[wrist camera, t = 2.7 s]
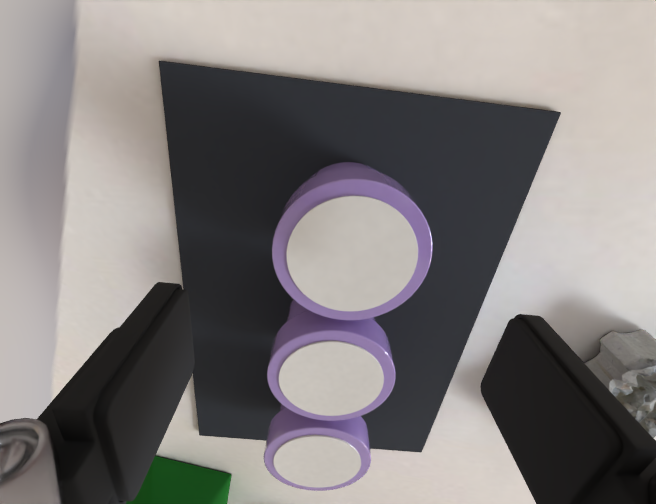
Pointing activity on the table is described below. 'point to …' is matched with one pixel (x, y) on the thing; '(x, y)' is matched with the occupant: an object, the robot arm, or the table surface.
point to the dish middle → (330, 365)
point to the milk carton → (182, 484)
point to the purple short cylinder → (351, 243)
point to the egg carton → (630, 373)
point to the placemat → (294, 170)
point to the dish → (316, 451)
